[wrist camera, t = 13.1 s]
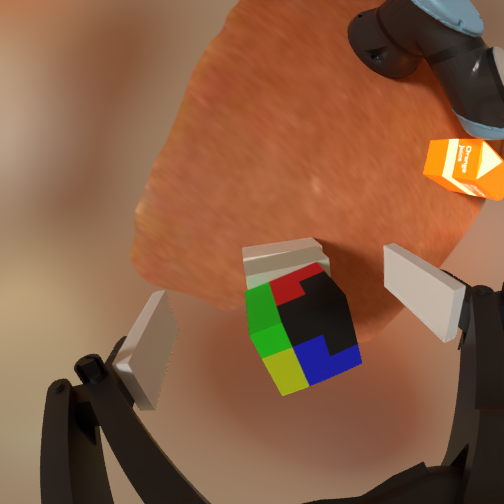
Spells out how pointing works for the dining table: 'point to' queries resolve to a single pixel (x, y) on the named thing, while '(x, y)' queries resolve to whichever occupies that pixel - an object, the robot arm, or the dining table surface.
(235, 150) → the dining table surface
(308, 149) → the dining table surface
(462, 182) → the orange juice
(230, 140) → the dining table surface
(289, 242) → the tower base
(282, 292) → the puzzle toy
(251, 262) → the tower top
